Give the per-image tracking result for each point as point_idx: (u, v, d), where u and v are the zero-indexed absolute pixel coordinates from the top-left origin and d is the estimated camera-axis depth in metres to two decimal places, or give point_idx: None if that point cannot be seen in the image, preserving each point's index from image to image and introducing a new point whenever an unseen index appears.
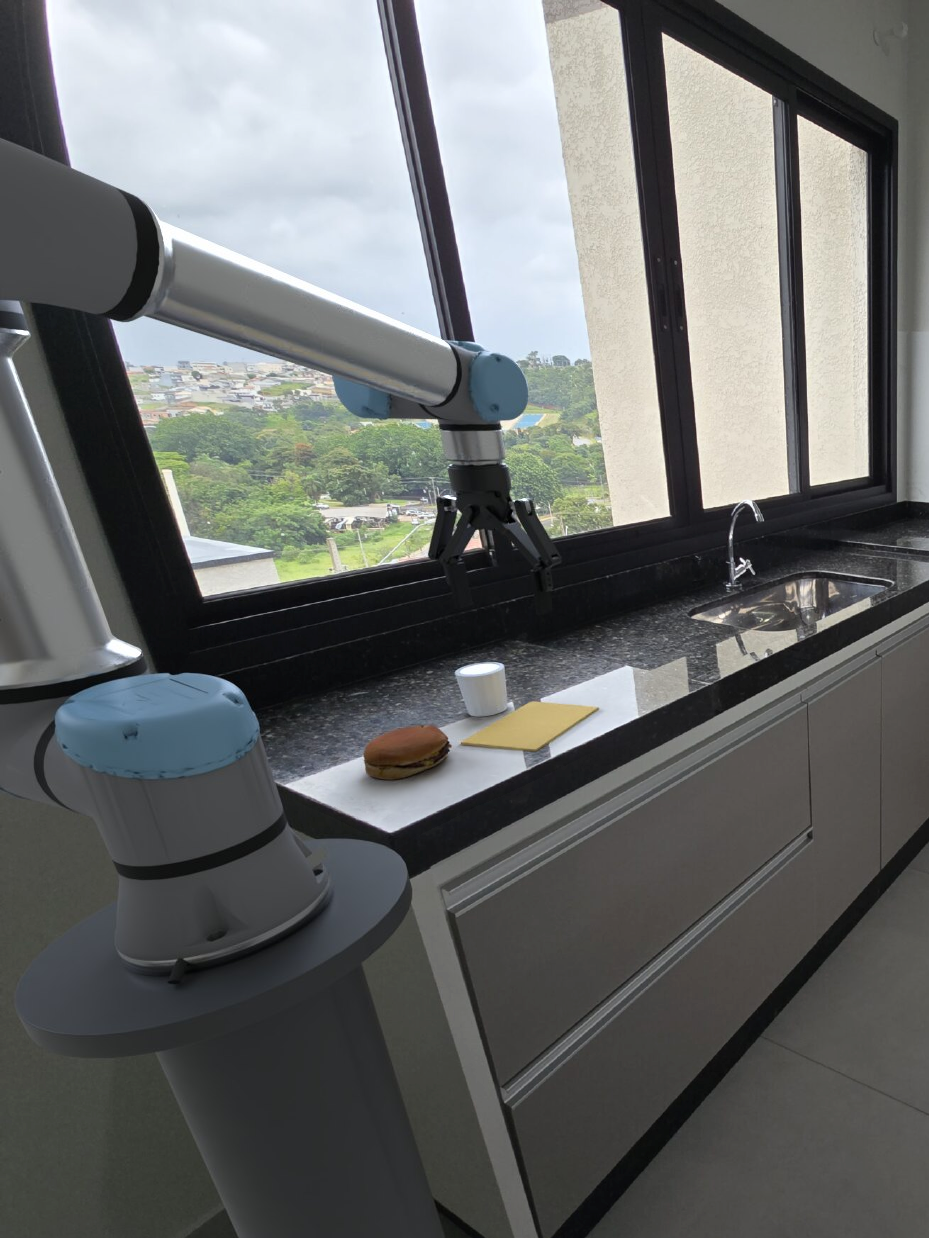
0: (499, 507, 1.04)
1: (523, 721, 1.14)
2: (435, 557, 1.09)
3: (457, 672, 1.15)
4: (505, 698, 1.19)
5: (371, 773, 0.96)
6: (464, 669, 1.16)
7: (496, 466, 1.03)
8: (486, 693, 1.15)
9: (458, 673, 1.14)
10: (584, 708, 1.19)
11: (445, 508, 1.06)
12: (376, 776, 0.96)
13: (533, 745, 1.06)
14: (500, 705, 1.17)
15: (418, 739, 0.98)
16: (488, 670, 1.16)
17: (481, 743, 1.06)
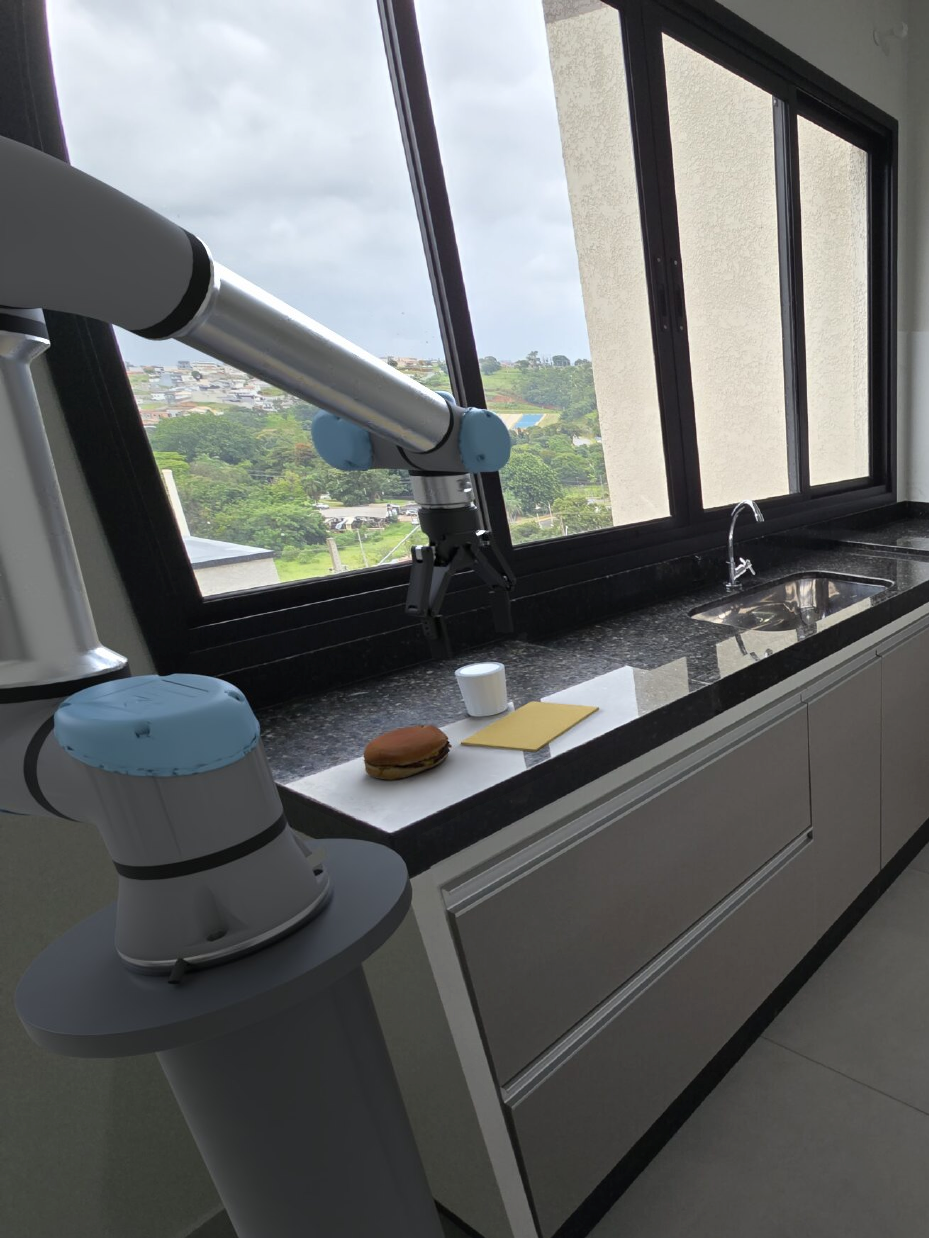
0: None
1: (523, 721, 1.14)
2: None
3: (457, 672, 1.15)
4: (505, 698, 1.19)
5: (371, 773, 0.96)
6: (464, 669, 1.16)
7: (425, 510, 1.04)
8: (486, 693, 1.15)
9: (458, 673, 1.14)
10: (584, 708, 1.19)
11: None
12: (376, 776, 0.96)
13: (533, 745, 1.06)
14: (500, 705, 1.17)
15: (418, 739, 0.98)
16: (488, 670, 1.16)
17: (481, 743, 1.06)
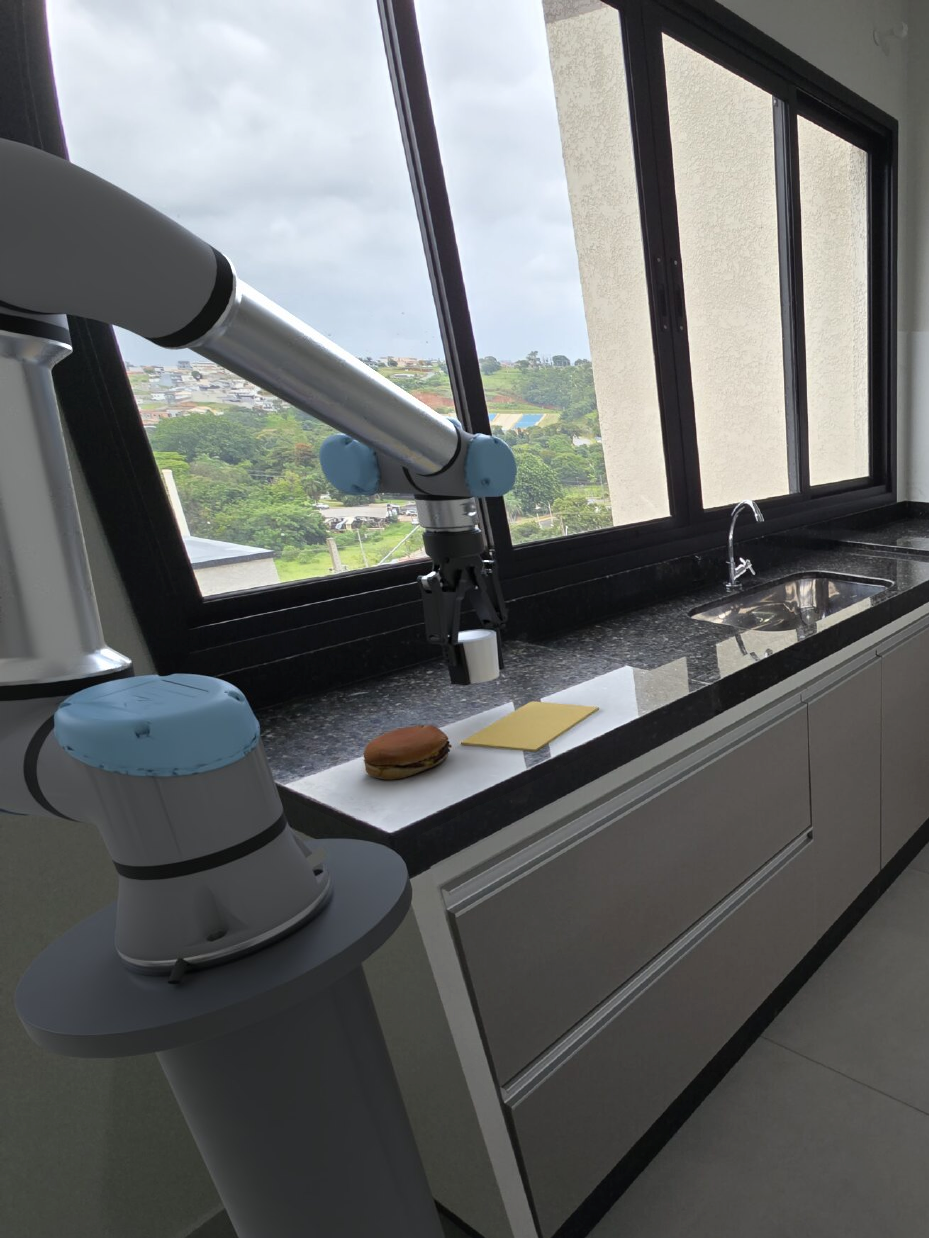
0: None
1: (523, 721, 1.14)
2: None
3: None
4: (496, 666, 1.16)
5: (371, 773, 0.96)
6: None
7: (430, 533, 1.06)
8: (477, 659, 1.13)
9: None
10: (584, 708, 1.19)
11: None
12: (376, 776, 0.96)
13: (533, 745, 1.06)
14: (491, 672, 1.15)
15: (418, 739, 0.98)
16: (479, 636, 1.13)
17: (481, 743, 1.06)
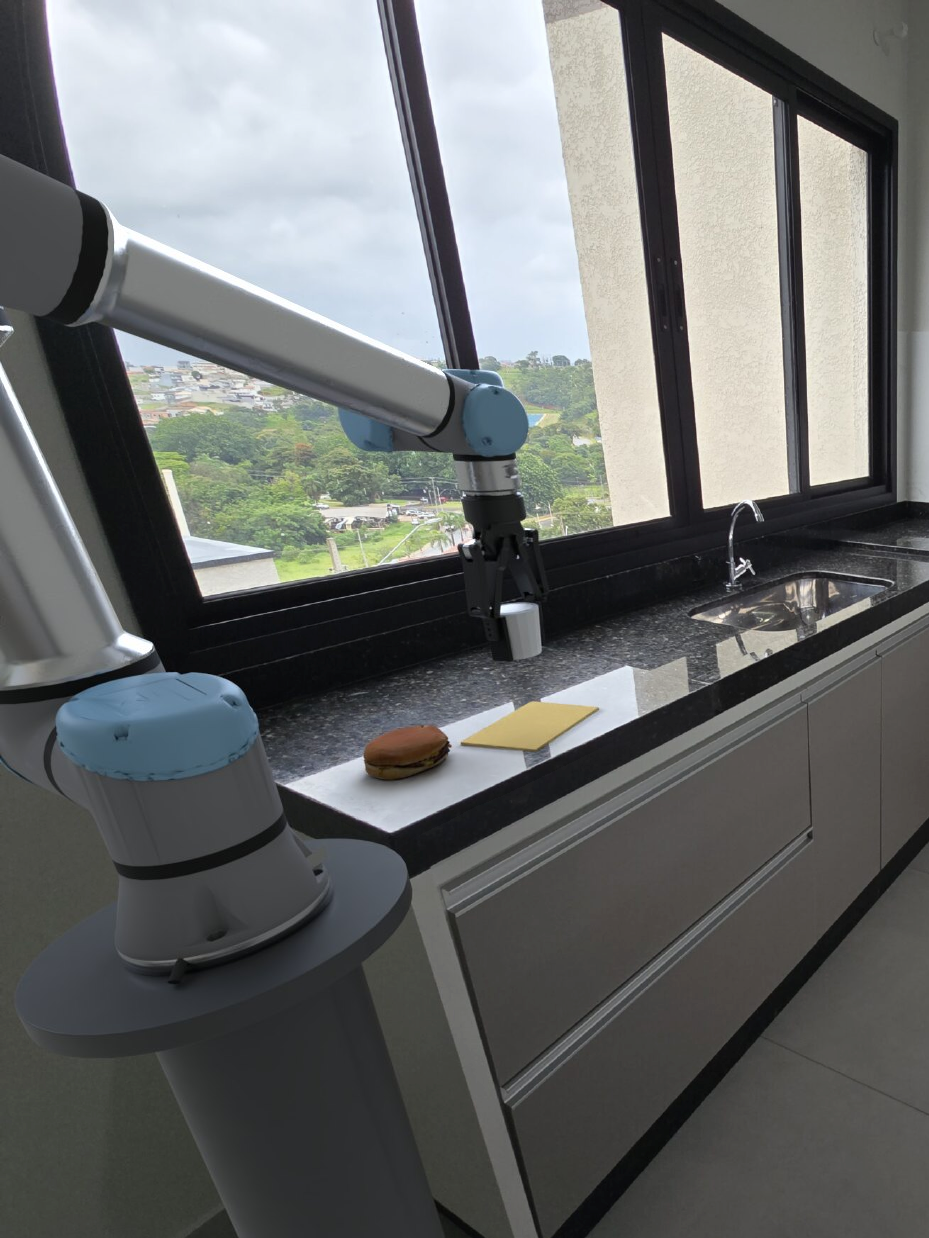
0: None
1: (523, 721, 1.14)
2: None
3: None
4: (539, 641, 1.09)
5: (371, 773, 0.96)
6: None
7: (470, 498, 0.98)
8: (520, 634, 1.06)
9: None
10: (584, 708, 1.19)
11: None
12: (376, 776, 0.96)
13: (533, 745, 1.06)
14: (534, 648, 1.08)
15: (418, 739, 0.98)
16: (521, 609, 1.06)
17: (481, 743, 1.06)
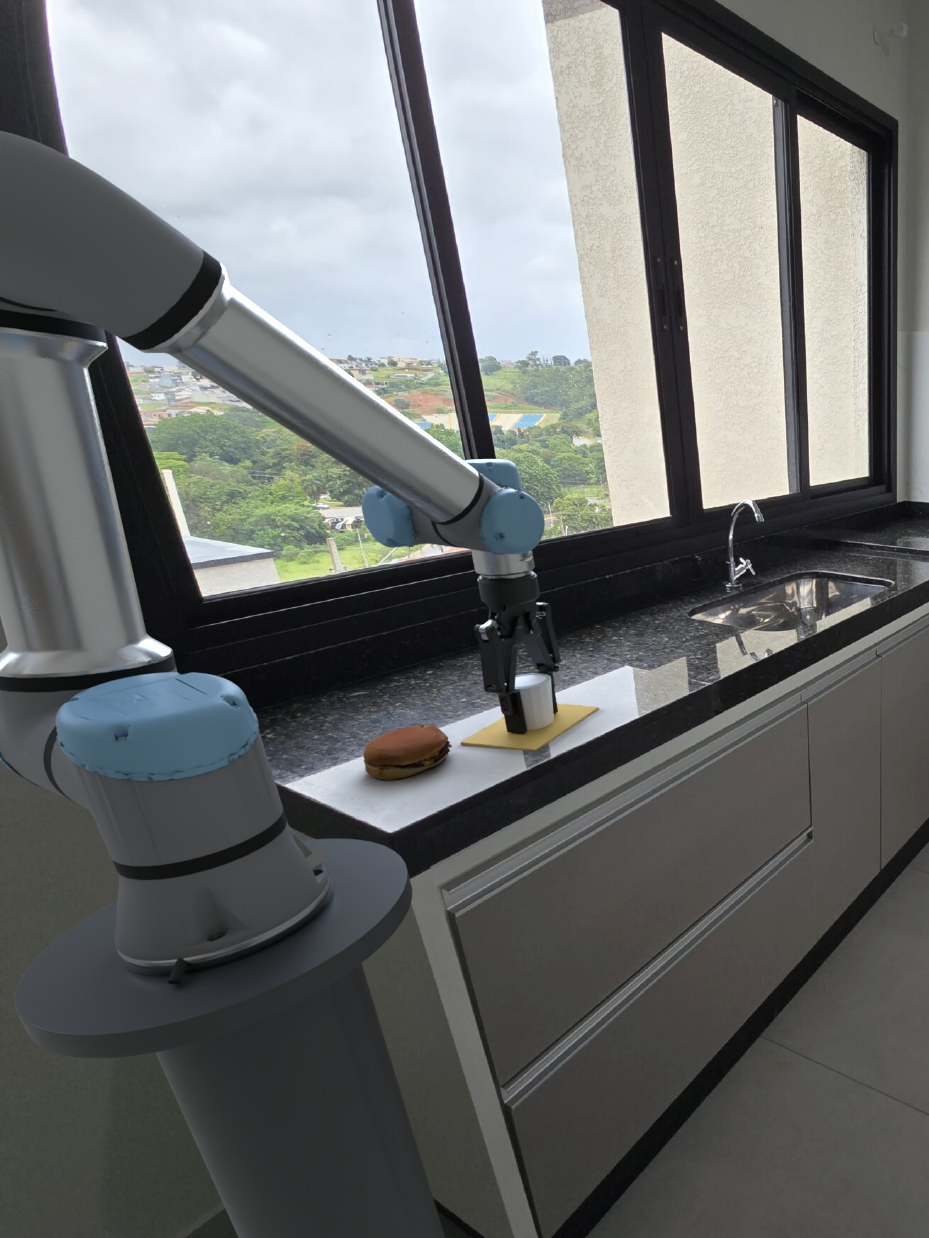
0: None
1: None
2: None
3: None
4: (552, 711, 1.13)
5: (371, 773, 0.96)
6: None
7: (486, 581, 1.02)
8: (533, 706, 1.09)
9: None
10: (584, 708, 1.19)
11: None
12: (376, 776, 0.96)
13: (533, 745, 1.06)
14: (547, 718, 1.12)
15: (418, 739, 0.98)
16: (535, 682, 1.10)
17: (481, 743, 1.06)
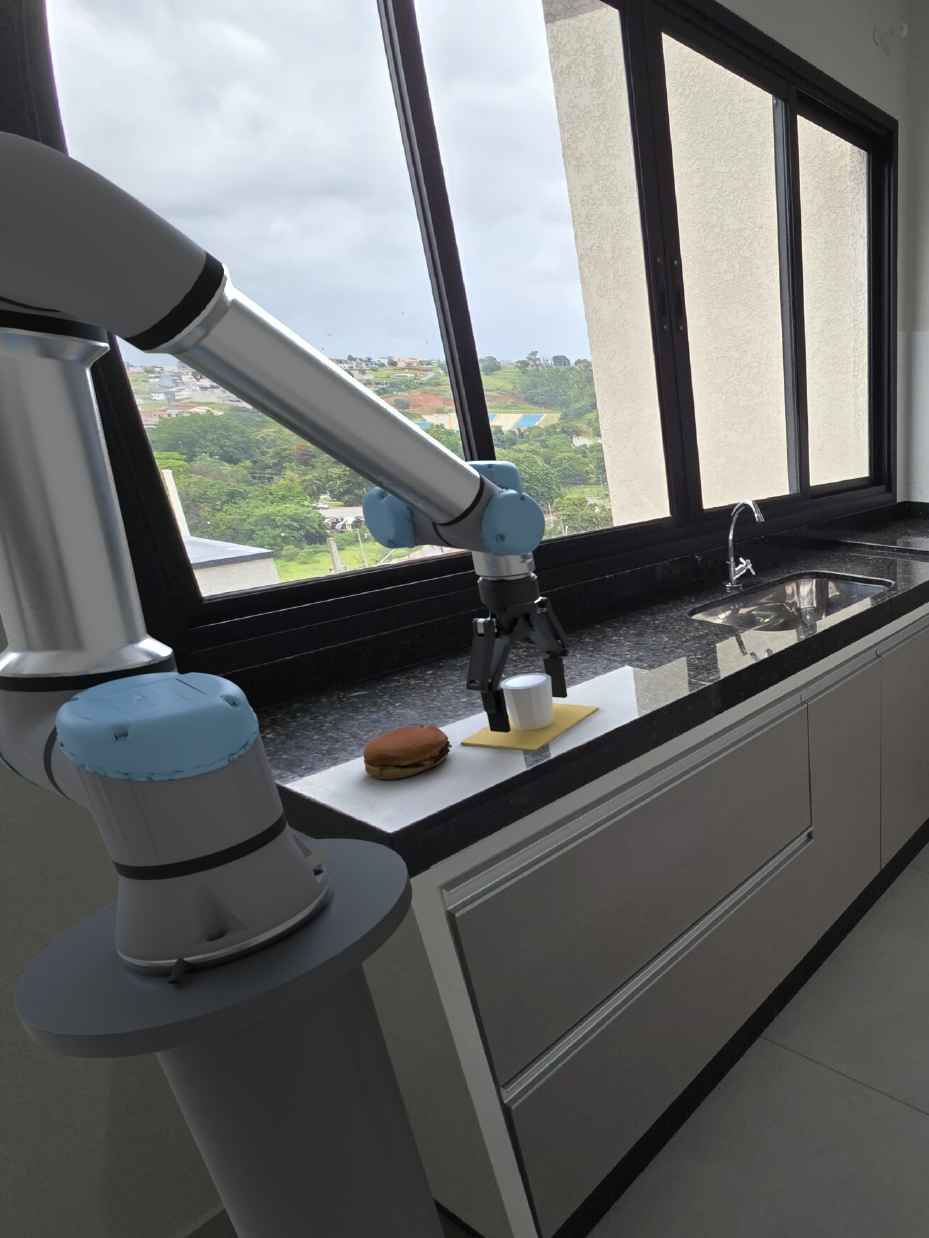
0: None
1: None
2: None
3: (503, 684, 1.09)
4: (552, 711, 1.13)
5: (371, 773, 0.96)
6: (509, 681, 1.11)
7: (486, 582, 1.02)
8: (533, 706, 1.09)
9: (504, 685, 1.09)
10: (584, 708, 1.19)
11: None
12: (376, 776, 0.96)
13: (533, 745, 1.06)
14: (547, 718, 1.12)
15: (418, 739, 0.98)
16: (535, 682, 1.10)
17: (481, 743, 1.06)
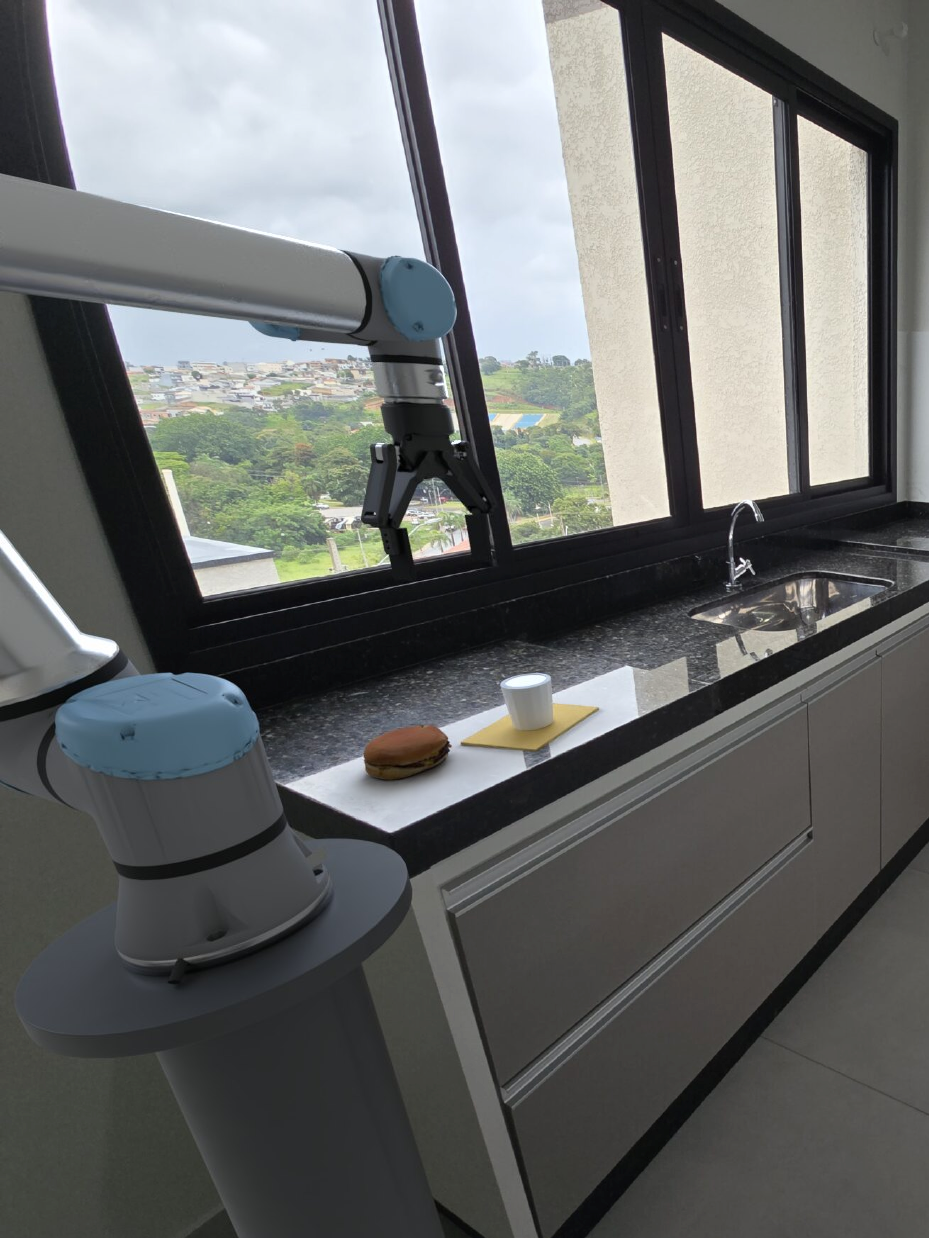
0: None
1: None
2: None
3: (503, 684, 1.09)
4: (552, 711, 1.13)
5: (371, 773, 0.96)
6: (509, 681, 1.11)
7: (388, 404, 0.90)
8: (533, 706, 1.09)
9: (504, 685, 1.09)
10: (584, 708, 1.19)
11: None
12: (376, 776, 0.96)
13: (533, 745, 1.06)
14: (547, 718, 1.12)
15: (418, 739, 0.98)
16: (535, 682, 1.10)
17: (481, 743, 1.06)
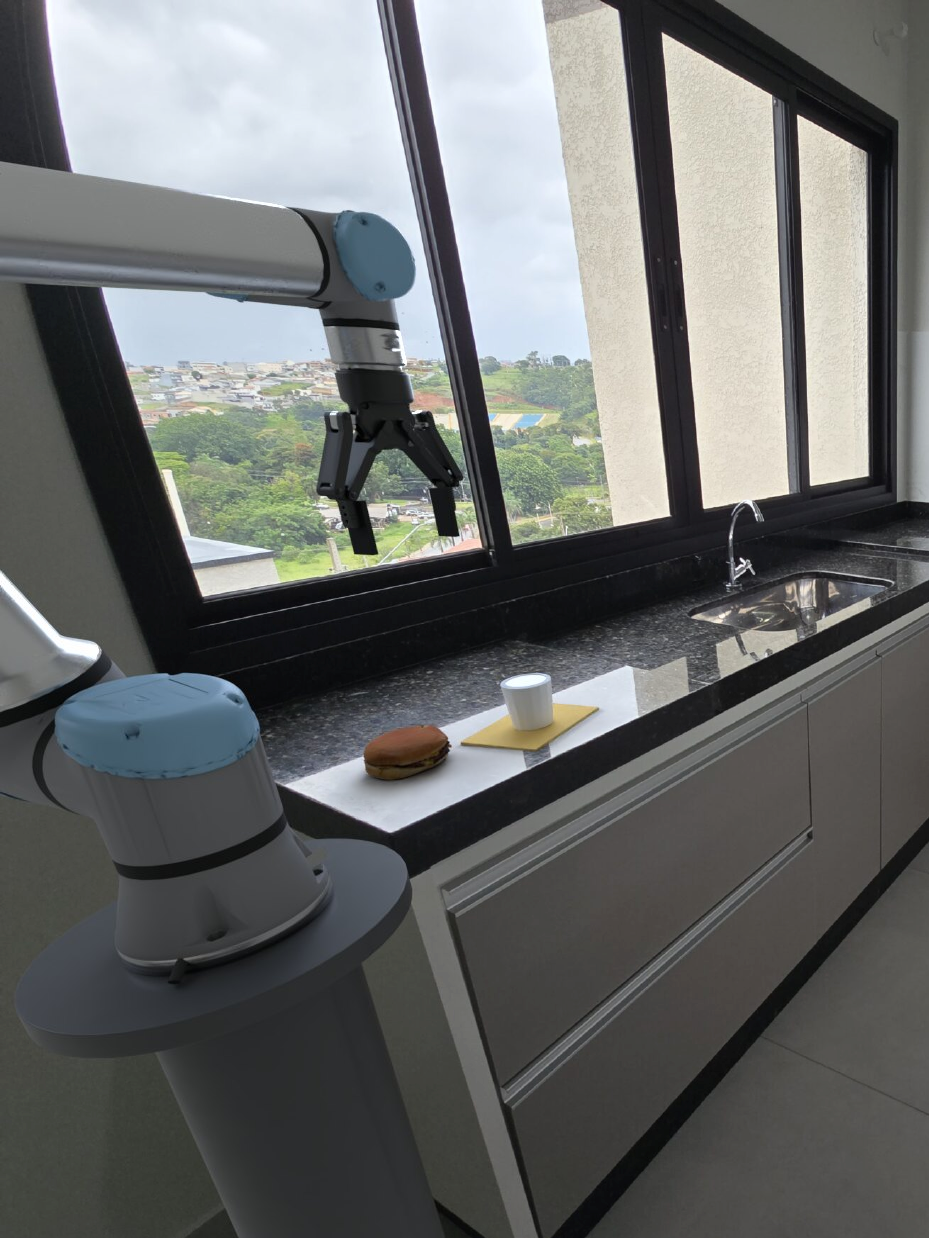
0: None
1: None
2: None
3: (503, 684, 1.09)
4: (552, 711, 1.13)
5: (371, 773, 0.96)
6: (509, 681, 1.11)
7: (343, 371, 0.86)
8: (533, 706, 1.09)
9: (504, 685, 1.09)
10: (584, 708, 1.19)
11: None
12: (376, 776, 0.96)
13: (533, 745, 1.06)
14: (547, 718, 1.12)
15: (418, 739, 0.98)
16: (535, 682, 1.10)
17: (481, 743, 1.06)
